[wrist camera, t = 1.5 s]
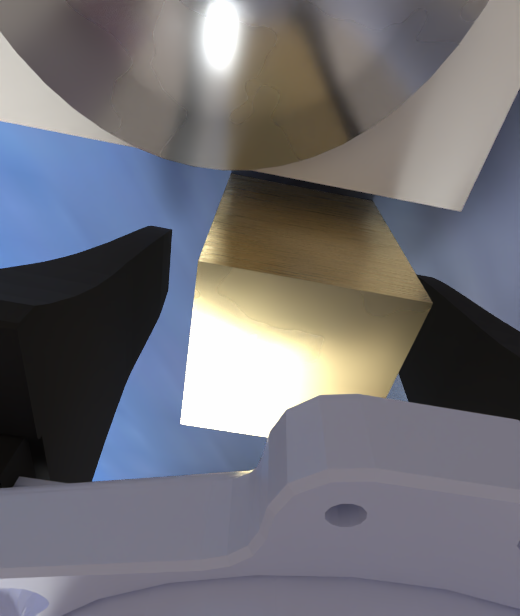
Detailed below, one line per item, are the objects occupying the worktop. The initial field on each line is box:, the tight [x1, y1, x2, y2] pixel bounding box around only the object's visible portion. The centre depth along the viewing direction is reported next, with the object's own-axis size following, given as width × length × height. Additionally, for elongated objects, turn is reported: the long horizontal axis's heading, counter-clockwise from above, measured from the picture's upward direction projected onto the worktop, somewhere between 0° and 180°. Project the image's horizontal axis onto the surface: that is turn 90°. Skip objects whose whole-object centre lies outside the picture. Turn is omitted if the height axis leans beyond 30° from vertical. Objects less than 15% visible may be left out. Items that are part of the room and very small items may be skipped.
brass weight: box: [181, 173, 433, 437], centre depth 11 cm, size 4×4×6 cm
